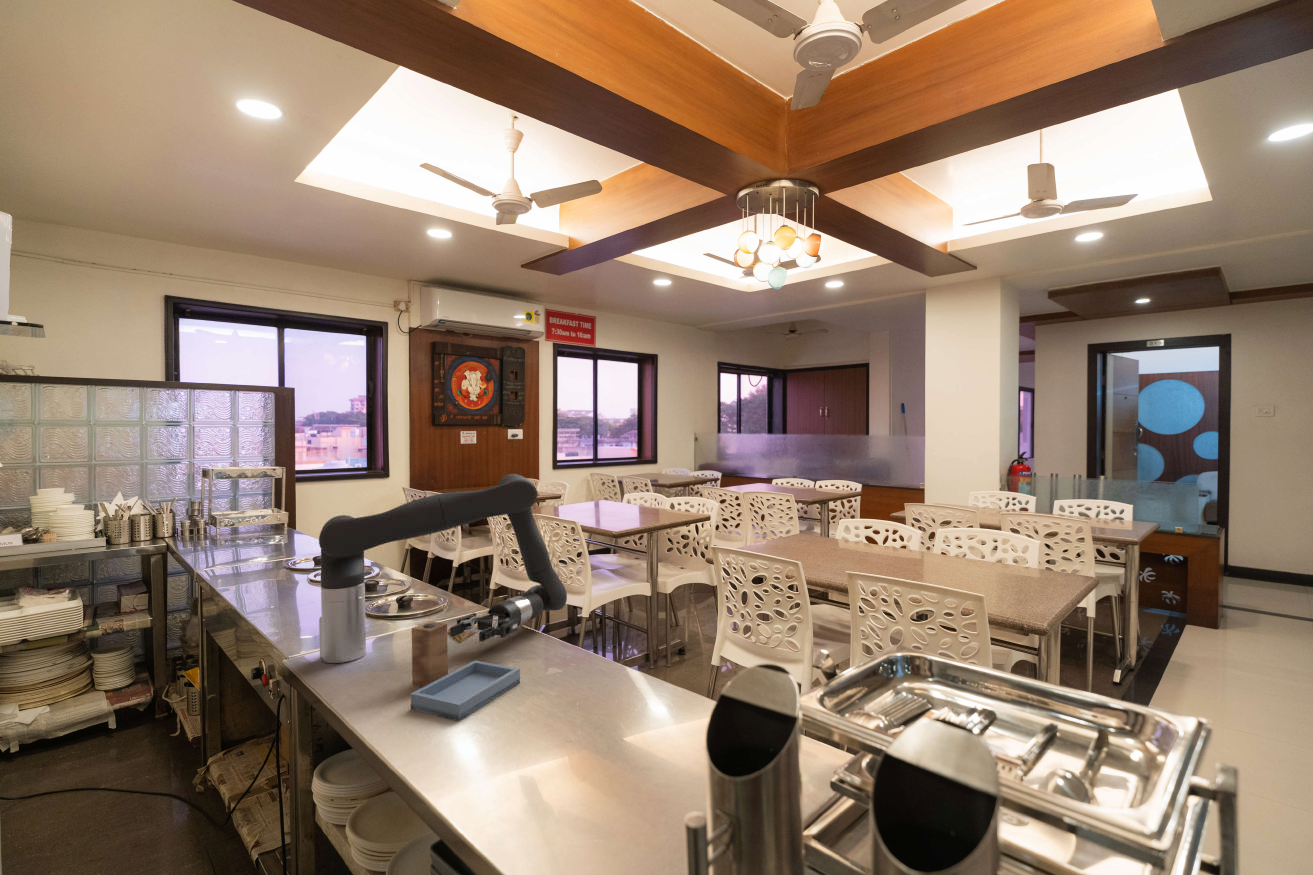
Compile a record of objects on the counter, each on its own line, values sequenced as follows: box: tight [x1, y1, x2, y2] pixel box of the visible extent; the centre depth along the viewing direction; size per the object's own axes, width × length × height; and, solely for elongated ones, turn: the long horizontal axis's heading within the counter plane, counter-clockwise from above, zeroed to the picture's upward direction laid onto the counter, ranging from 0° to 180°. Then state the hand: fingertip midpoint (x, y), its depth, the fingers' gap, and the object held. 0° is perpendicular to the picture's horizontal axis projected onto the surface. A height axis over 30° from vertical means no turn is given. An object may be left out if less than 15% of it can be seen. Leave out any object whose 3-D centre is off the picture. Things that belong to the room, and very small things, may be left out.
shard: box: [447, 623, 478, 643], centre depth 158 cm, size 11×8×2 cm
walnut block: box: [411, 620, 449, 688], centre depth 129 cm, size 5×5×12 cm
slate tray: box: [410, 660, 521, 722], centre depth 122 cm, size 12×18×3 cm, turn 156°
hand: (465, 634), depth 139 cm, fingers open, 8 cm apart
